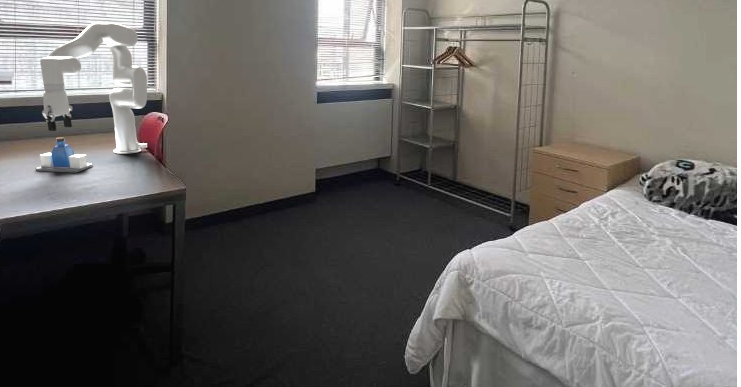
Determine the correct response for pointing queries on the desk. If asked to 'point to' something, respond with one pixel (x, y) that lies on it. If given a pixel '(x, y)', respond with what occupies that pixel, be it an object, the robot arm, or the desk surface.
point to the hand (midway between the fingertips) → (60, 128)
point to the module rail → (76, 165)
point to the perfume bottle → (61, 153)
